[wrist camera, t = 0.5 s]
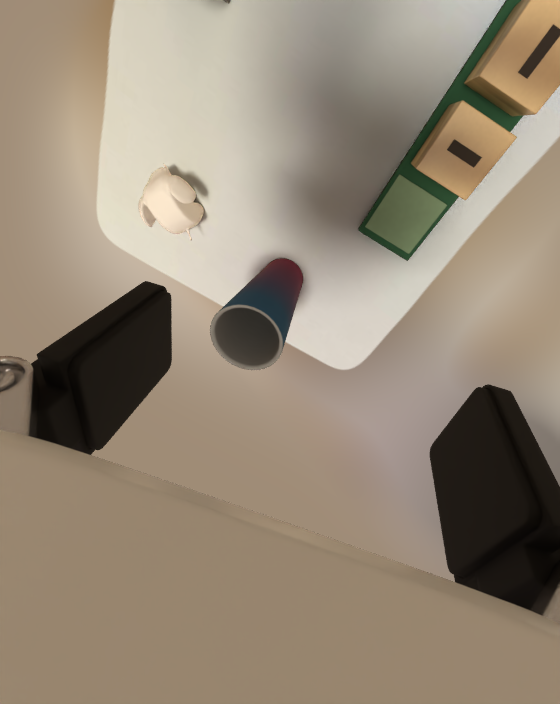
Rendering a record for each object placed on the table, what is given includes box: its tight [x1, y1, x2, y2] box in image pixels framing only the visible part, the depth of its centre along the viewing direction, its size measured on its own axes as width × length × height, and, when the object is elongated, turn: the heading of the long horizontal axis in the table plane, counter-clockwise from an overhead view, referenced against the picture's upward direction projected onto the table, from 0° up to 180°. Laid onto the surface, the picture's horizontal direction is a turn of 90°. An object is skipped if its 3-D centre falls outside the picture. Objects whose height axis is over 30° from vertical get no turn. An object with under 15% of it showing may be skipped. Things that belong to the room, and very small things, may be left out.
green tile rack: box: [359, 0, 560, 261], centre depth 28 cm, size 20×6×6 cm, turn 153°
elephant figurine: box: [139, 164, 203, 240], centre depth 36 cm, size 7×8×6 cm
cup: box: [210, 258, 303, 370], centre depth 35 cm, size 7×7×15 cm
